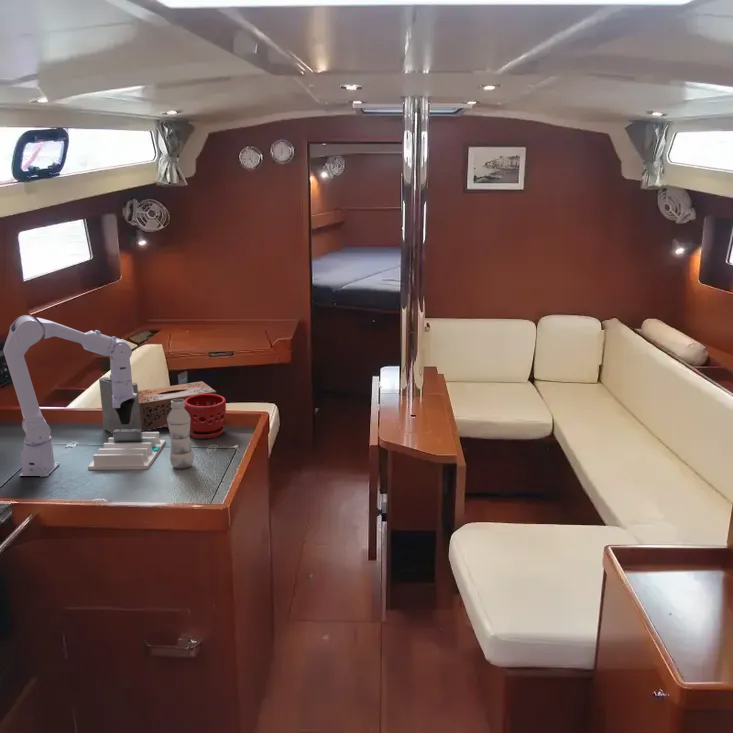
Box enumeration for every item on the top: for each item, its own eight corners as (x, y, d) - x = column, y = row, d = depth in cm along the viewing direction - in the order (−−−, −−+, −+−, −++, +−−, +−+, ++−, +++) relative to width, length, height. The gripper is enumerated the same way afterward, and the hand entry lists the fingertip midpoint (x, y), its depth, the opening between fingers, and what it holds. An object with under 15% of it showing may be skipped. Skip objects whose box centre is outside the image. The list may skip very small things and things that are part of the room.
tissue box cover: (142, 432, 244) (140, 403, 241) (131, 419, 256) (128, 392, 253) (217, 419, 256) (216, 391, 254) (203, 407, 268) (202, 381, 266)
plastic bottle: (188, 472, 211) (183, 404, 206) (166, 470, 212) (161, 403, 207) (198, 463, 217) (193, 398, 212) (176, 461, 218) (171, 396, 213)
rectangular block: (141, 450, 224) (139, 431, 222) (114, 450, 224) (112, 431, 222) (143, 447, 226) (141, 429, 224) (116, 448, 226) (115, 429, 224)
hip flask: (143, 435, 240) (138, 375, 235) (134, 439, 236) (128, 378, 231) (109, 427, 248) (104, 369, 243) (99, 430, 244) (93, 372, 239)
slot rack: (147, 469, 213) (146, 456, 212) (88, 469, 213) (86, 456, 212) (165, 443, 233) (164, 430, 232) (111, 443, 233) (109, 431, 232)
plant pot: (178, 439, 236) (175, 403, 233) (199, 426, 249) (196, 391, 246) (215, 443, 233) (213, 407, 230) (234, 429, 245) (232, 395, 242)
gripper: (128, 386, 212) (132, 431, 216) (142, 373, 226) (145, 415, 230) (103, 387, 212) (107, 431, 216) (118, 373, 226) (122, 415, 230)
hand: (125, 423), depth 223 cm, fingers closed
